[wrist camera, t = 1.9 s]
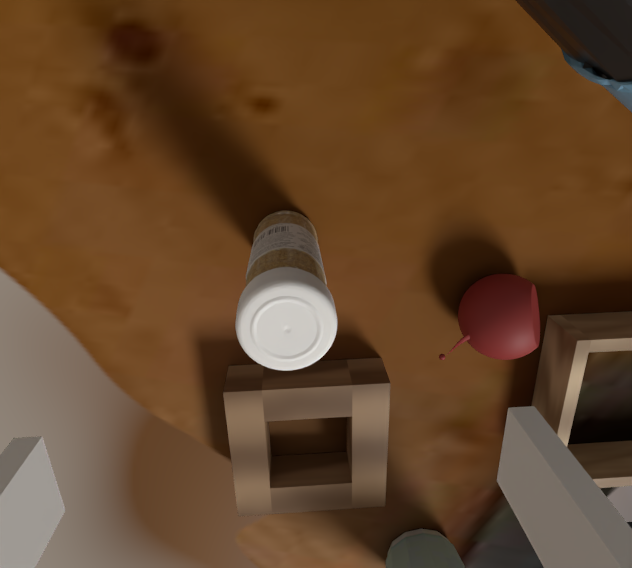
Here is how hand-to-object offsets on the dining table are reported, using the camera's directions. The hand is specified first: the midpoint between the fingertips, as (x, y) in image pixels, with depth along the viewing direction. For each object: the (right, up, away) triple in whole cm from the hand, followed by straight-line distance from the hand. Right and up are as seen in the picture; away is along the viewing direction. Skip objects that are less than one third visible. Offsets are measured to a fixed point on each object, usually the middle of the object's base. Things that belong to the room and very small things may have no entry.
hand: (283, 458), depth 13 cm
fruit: (+13, +3, +22) cm, 26 cm away
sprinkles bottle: (-1, +8, +20) cm, 21 cm away
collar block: (0, -7, +25) cm, 26 cm away
